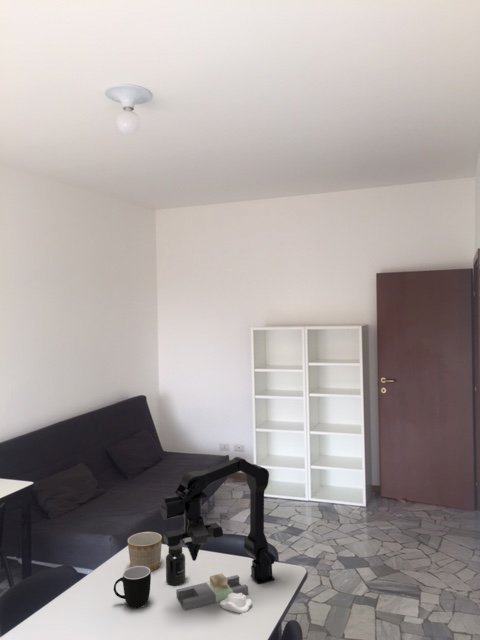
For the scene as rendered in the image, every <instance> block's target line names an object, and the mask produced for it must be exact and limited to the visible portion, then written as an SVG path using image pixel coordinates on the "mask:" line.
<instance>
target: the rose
mask: <svg viewBox="0 0 480 640" xmlns="http://www.w3.org/2000/svg"><path fill="white" fill-rule="evenodd" d="M219 605H220V606H221V607H222V609H225V610H228V611H231V612H234V613H237V614H238V613H239V614H242V613H243V614H244V613H247V611H249V609H250V607H251V606H252V600H251V598H247V595H243V594H242V593H239V594H235V593H230V594H228V597H227V598H226V599H225V600H222V601H220V602H219Z"/></svg>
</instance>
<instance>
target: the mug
mask: <svg viewBox="0 0 480 640" xmlns="http://www.w3.org/2000/svg"><path fill="white" fill-rule="evenodd" d="M151 572H152V571H150V569H149V568H148V567H145V566H135V567H131V566H130V567H129V568H126V569H125V570H124V571H123V573H122V577H120V578H118V579H117V580H116V581H115V582H114V584H113V592H114V594H115V596H116V597H118V598H120V599H123V600H125V603H126V605H127V606H128V608H131V609H140V608H143V607H145V606H146V605H147V604H148V601H149V599H150V593H151V582H152V581H151V579H152V578H151V576H152V573H151ZM120 582H122V585H123V594H120V593H119V592H118V590H117V585H118V584H119V583H120Z"/></svg>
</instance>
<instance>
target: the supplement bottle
mask: <svg viewBox="0 0 480 640" xmlns="http://www.w3.org/2000/svg"><path fill="white" fill-rule="evenodd" d="M167 551H168V553H167V555H166V557H165V578H166V579H165V580H166V583H167V585H170V586H179V585H182V584H183V583H185V582H186V555H185V554H184V553H183V546H182V545H181V544H179V545H176V546H171V547H169V546H168V550H167Z"/></svg>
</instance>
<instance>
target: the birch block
mask: <svg viewBox="0 0 480 640" xmlns="http://www.w3.org/2000/svg"><path fill="white" fill-rule="evenodd" d="M209 582H210V586H211V587H212V588H213V590H214V591H218V590H222V589H226V588H228V587H227V577H226V576H225V575H224V573H222V572H221V573H217V574H214V575H210V576H209Z"/></svg>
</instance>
